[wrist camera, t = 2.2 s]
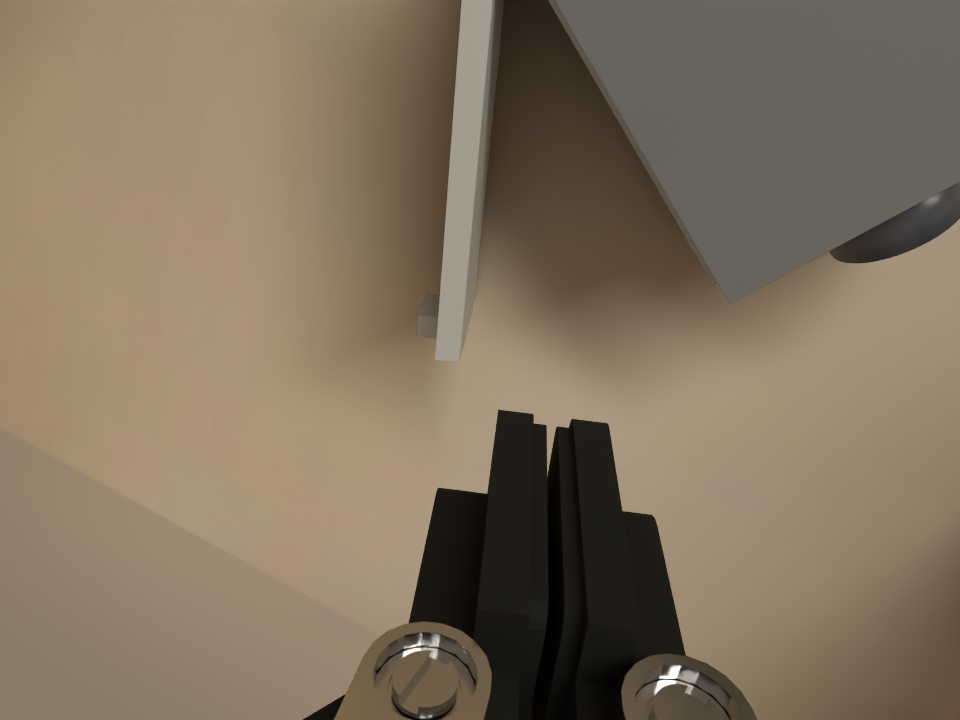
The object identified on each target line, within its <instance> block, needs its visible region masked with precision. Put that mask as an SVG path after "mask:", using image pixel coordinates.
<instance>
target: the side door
mask: <svg viewBox="0 0 960 720" xmlns="http://www.w3.org/2000/svg"><path fill="white" fill-rule="evenodd" d="M504 2H505V0H462V3H461V16H460V30H459V43H458V57H457V70H456V84H455V97H454V111H453V125H452V138H451V152H450V165H449V179H448V192H447V206H446V219H445V233H444V246H443V260H442V273H441V287H440V295H434V294H427V295H426V297H425V300H424V302H423V304H422V307H421V309H420V312H419V314H418V326H417V336H423V337H431V338H437V341H436V354H435V360H442V361H450V362H458V363H459V362H460V358H461V354H462V350H463V346H464V341H465V337H466V333H467V329H468V325H469V321H470V317H471V313H472V309H473V305H474V301H475V295H476V285H477V275H478V265H479V255H480V244H481V234H482V224H483V214H484V204H485V194H486V184H487V174H488V163H489V153H490V143H491V133H492V123H493V113H494V103H495V93H496V82H497V72H498V62H499V52H500V42H501V32H502V22H503V12H504Z"/></svg>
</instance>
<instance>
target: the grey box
mask: <svg viewBox="0 0 960 720" xmlns="http://www.w3.org/2000/svg"><path fill="white" fill-rule="evenodd" d="M548 1H549V2H550V4H551V6H552V8H553V9H554V11H555V13H556V15H557V16H558V18H559V20H560V21H561V23H562V25H563V27H564V28H565V30H566V32H567V34H568V35H569V37H570V39H571V40H572V42H573V44H574V46H575V47H576V49H577V51H578V53H579V54H580V56H581V58H582V59H583V61H584V63H585V65H586V66H587V68H588V70H589V72H590V73H591V75H592V77H593V78H594V80H595V82H596V84H597V85H598V87H599V89H600V91H601V92H602V94H603V96H604V97H605V99H606V101H607V103H608V104H609V106H610V108H611V110H612V111H613V113H614V115H615V116H616V118H617V120H618V122H619V123H620V125H621V127H622V129H623V130H624V132H625V134H626V135H627V137H628V139H629V141H630V142H631V144H632V146H633V148H634V149H635V151H636V153H637V154H638V156H639V158H640V160H641V161H642V163H643V165H644V167H645V168H646V170H647V172H648V174H649V175H650V177H651V179H652V180H653V182H654V184H655V186H656V187H657V189H658V191H659V193H660V194H661V196H662V198H663V199H664V201H665V203H666V205H667V206H668V208H669V210H670V212H671V213H672V215H673V217H674V218H675V220H676V222H677V224H678V225H679V227H680V229H681V231H682V232H683V234H684V236H685V237H686V239H687V241H688V243H689V244H690V246H691V248H692V250H693V251H694V253H695V255H696V256H697V258H698V260H699V262H700V263H701V265H702V267H703V269H704V270H705V272H706V274H707V275H708V277H709V279H710V281H711V282H712V284H713V285H714V284H716V283H718V284H719V286H720V288H721V290H722V291H723V293H724V295H725V296H726V298H727V300H728V302H729V303H730V304H731V303H733V302H735V301H736V300H738V299H740V298H742V297H744V296H746V295H748V294H750V293H751V292H753V291H755V290H757V289H759V288H761V287H763V286H765V285H766V284H768V283H770V282H772V281H774V280H776V279H778V278H780V277H781V276H783V275H785V274H787V273H789V272H791V271H793V270H795V269H796V268H798V267H800V266H802V265H804V264H806V263H808V262H810V261H811V260H813V259H815V258H817V257H819V256H821V255H823V254H825V253H826V252H828V251H830V253H831V255H832V256H833V257H834V258H835V259H836V260H839V261H841V262H846V263H867V262H874V261H879V260H883V259H887V258H890V257H894V256H897V255H900V254H903V253H905V252H908V251H910V250H913V249H915V248H917V247H919V246H921V245H923V244H925V243H927V242H929V241H931V240H932V239H934V238H936V237H937V236H939V235H940V234H942V233H943V232H945V231H946V230H947V229H949V228H950V227H951V226H952V225H953V224H955V223H956V221H957V220H958V219H959V218H960V0H548Z"/></svg>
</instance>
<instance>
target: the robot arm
mask: <svg viewBox="0 0 960 720" xmlns="http://www.w3.org/2000/svg"><path fill="white" fill-rule="evenodd" d="M533 422H534V416H533V414H528V413H520V412H512V411H504V410H498V416H497V424H496V432H495V439H494V447H493V455H492V462H491V470H490V478H489V486H488V493H487V494H483V493H476V492H468V491H460V490H452V489H444V488H438V489H437V493H436V497H435V502H434V506H433V511H432V516H431V521H430V525H429V530H428V535H427V539H426V544H425V549H424V554H423V558H422V563H421V568H420V573H419V577H418V582H417V587H416V591H415V596H414V601H413V606H412V610H411V615H410V620H409V623H408V624H404V625H401V626H399V627H396V628H394V629H391V630H389V631H387V632H386V633H384V634H383V635H382V636H381V637H379V638H378V639H377V640H375V641H374V642H373V643H372V645H371V646H370V648H369V649H368V651H367V652H366V654H365V655H364V656H363V658H362V661H361V663H360V665H359V667H358V669H357V671H356V673H355V675H354V678H353V680H352V682H351V684H350V686H349V689H348V691H347V693H346V695H343V696H342V697H340V698H339V699H337V700H335V701H334V702H332V703H330V704H328V705H327V706H325V707H323V708H322V709H320V710H318V711H317V712H315V713H313V714H312V715H310V716H308V717H307V718H305V719H303V720H757V719H756V716H755V714H754V712H753V710H752V708H751V706H750V705H749V703H748V702H747V700H746V698H745V697H744V695H743V694H742V692H741V691H740V690H739V689H738V688H737V687H736V686H735V685H734V684H733V683H732V682H731V681H730V680H729V679H728V678H727V677H726V676H725V675H724V674H722V673H721V672H719V671H717V670H716V669H714V668H713V667H711V666H710V665H708V664H706V663H704V662H701V661H699V660H696V659H693V658H691V657H688V656H686V655H685V651H684V646H683V641H682V637H681V632H680V628H679V623H678V619H677V614H676V609H675V605H674V600H673V596H672V591H671V587H670V582H669V577H668V573H667V568H666V564H665V559H664V555H663V550H662V545H661V541H660V536H659V532H658V527H657V524H656V521H655V518H654V517H653V516H652V515H648V514H640V513H632V512H624V511H622V507H621V500H620V494H619V488H618V481H617V475H616V468H615V462H614V456H613V449H612V443H611V437H610V430H609V426H608V424H607V423H600V422H592V421H584V420H576V419H572V420H571V422H570V425H569V428H565V427H557V428H556V431H555V437H554V442H553V448H552V454H551V459H550V465H549V471H548V476H547V430H546V425H541V424H533Z"/></svg>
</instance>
